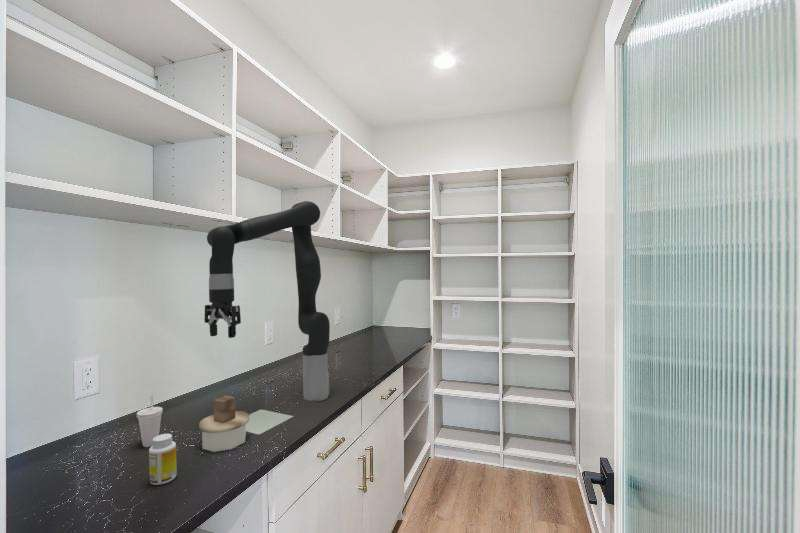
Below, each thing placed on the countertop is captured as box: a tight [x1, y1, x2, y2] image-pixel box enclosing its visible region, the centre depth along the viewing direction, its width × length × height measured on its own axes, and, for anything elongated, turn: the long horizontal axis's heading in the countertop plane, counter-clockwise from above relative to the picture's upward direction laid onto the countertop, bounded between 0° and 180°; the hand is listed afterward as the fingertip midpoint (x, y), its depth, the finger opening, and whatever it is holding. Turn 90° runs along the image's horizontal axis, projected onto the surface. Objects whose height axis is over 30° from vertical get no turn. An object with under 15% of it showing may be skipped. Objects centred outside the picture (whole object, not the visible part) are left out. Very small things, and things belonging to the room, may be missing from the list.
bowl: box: [201, 424, 247, 453], centre depth 109 cm, size 11×11×6 cm
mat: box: [246, 409, 294, 436], centre depth 123 cm, size 15×15×1 cm
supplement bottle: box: [148, 433, 178, 486], centre depth 91 cm, size 6×6×10 cm
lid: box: [198, 395, 250, 433], centre depth 109 cm, size 13×13×7 cm
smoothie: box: [136, 394, 164, 448], centre depth 109 cm, size 6×6×14 cm
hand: (222, 336), depth 125 cm, fingers open, 8 cm apart
